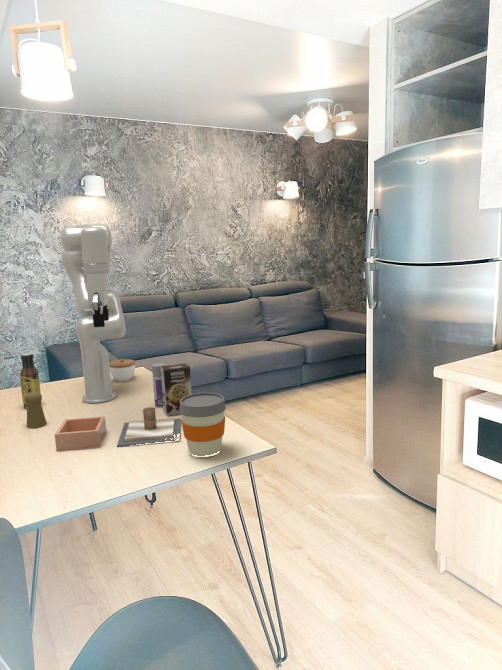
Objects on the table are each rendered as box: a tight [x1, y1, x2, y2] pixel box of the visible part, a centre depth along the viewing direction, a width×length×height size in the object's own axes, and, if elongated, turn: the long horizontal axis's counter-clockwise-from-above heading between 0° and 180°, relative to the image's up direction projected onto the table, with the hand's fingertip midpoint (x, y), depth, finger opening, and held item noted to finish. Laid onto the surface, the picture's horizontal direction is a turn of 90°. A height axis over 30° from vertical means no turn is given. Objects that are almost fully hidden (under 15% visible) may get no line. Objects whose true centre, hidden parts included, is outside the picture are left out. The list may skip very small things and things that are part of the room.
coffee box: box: [161, 363, 193, 417], centre depth 166 cm, size 9×6×16 cm
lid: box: [125, 406, 175, 442], centre depth 150 cm, size 14×14×7 cm
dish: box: [54, 415, 107, 452], centre depth 145 cm, size 12×12×5 cm
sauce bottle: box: [19, 352, 42, 409], centre depth 177 cm, size 6×6×20 cm
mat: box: [116, 417, 182, 448], centre depth 150 cm, size 18×18×1 cm
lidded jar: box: [109, 358, 136, 383], centre depth 209 cm, size 11×11×9 cm
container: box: [151, 362, 166, 409], centre depth 173 cm, size 5×5×15 cm
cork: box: [24, 392, 47, 429], centre depth 159 cm, size 6×6×11 cm
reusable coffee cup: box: [180, 392, 227, 456], centre depth 134 cm, size 13×13×15 cm
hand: (101, 323), depth 154 cm, fingers open, 9 cm apart
